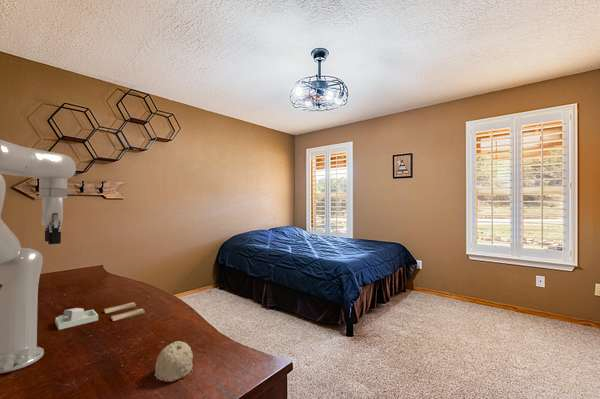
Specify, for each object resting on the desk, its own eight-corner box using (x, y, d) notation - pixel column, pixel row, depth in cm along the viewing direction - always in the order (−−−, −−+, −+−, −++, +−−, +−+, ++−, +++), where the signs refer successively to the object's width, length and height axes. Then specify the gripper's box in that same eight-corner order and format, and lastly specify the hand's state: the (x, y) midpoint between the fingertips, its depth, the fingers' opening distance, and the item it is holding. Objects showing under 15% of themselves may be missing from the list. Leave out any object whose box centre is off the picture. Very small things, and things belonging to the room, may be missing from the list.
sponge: (193, 384, 78) (201, 343, 83) (183, 382, 70) (192, 337, 76) (159, 384, 77) (168, 343, 83) (144, 382, 70) (156, 337, 75)
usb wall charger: (82, 320, 108) (84, 308, 109) (63, 324, 101) (65, 312, 102) (73, 318, 109) (76, 307, 110) (54, 322, 102) (56, 310, 103)
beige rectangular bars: (144, 313, 116) (144, 310, 116) (113, 320, 108) (113, 318, 108) (133, 304, 126) (133, 302, 126) (103, 311, 118) (103, 308, 118)
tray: (98, 320, 109) (98, 314, 109) (58, 329, 101) (58, 324, 101) (93, 314, 114) (93, 309, 114) (55, 323, 106) (55, 317, 106)
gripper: (36, 194, 105) (35, 241, 105) (41, 193, 93) (41, 246, 93) (63, 194, 111) (62, 239, 110) (71, 193, 99) (70, 244, 99)
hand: (52, 242), depth 102 cm, fingers open, 9 cm apart
